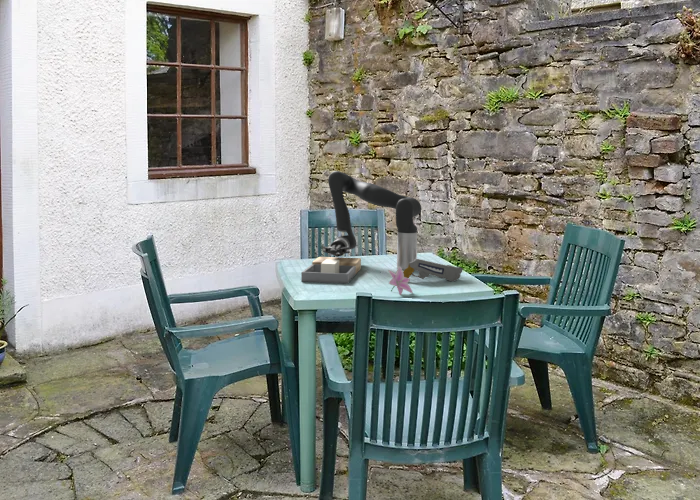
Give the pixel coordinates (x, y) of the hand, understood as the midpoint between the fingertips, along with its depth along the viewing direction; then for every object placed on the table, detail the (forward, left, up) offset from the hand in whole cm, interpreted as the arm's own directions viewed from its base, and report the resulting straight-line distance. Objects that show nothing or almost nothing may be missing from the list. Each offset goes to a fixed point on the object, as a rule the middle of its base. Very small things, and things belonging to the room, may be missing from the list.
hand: (332, 252), depth 335 cm
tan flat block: (0, -10, -10) cm, 15 cm away
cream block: (0, 0, -6) cm, 6 cm away
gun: (-44, +6, -10) cm, 46 cm away
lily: (-33, +34, -10) cm, 49 cm away
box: (0, +9, -10) cm, 13 cm away
